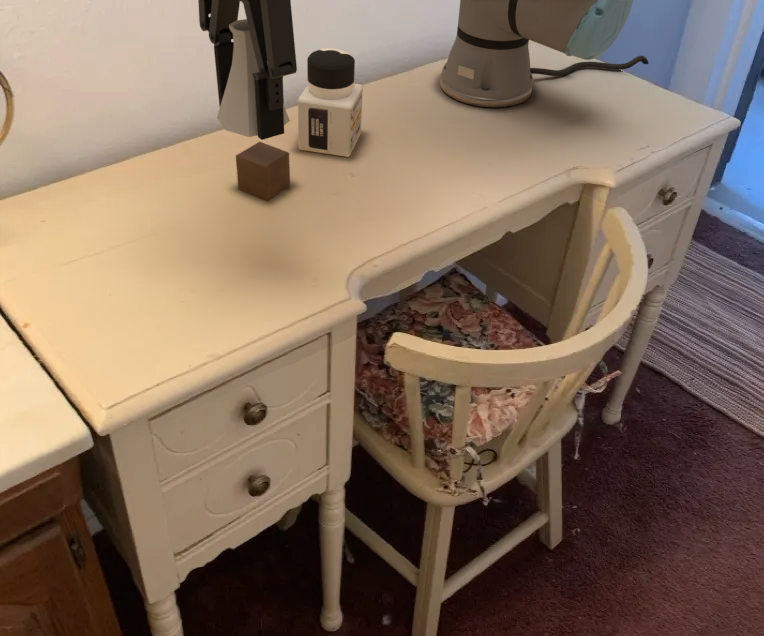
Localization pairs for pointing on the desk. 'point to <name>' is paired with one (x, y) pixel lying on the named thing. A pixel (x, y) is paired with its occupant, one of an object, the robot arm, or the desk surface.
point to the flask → (241, 86)
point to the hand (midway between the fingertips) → (251, 119)
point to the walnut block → (263, 170)
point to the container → (330, 104)
